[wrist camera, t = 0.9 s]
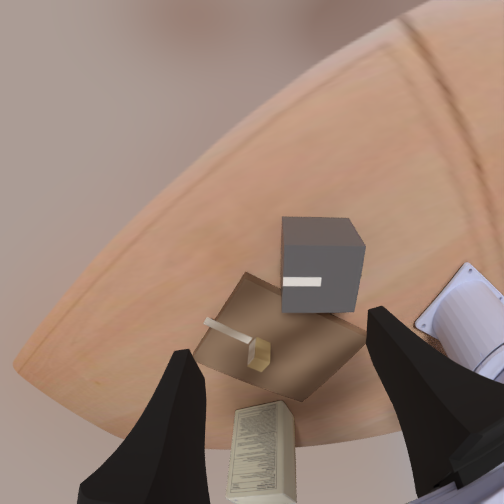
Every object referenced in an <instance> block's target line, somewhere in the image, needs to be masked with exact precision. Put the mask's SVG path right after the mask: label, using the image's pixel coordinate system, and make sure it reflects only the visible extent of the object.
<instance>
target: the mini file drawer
mask: <svg viewBox="0 0 504 504" xmlns="http://www.w3.org/2000/svg"><path fill="white" fill-rule="evenodd" d="M365 248H366V246H365V244H364V242H363V241H362V239H361V237H360V236H359V234H358V232H357V231H356V229H355V227H354V226H353V224H352V223H351V221H350V219H349V218H324V217H282V242H281V307H282V313H341V312H354V310H355V305H356V300H357V295H358V289H359V284H360V278H361V273H362V267H363V261H364V255H365Z"/></svg>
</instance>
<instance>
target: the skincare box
mask: <svg viewBox="0 0 504 504" xmlns="http://www.w3.org/2000/svg"><path fill="white" fill-rule="evenodd" d="M295 460H296V459H295V430H294V416H293V415H292V413H291V412H290V410H289V409H288V407H287V406H286V404H285V403H284V402H283V401H282V400H281V401H276V402H272V403H267V404H263V405H258V406H253V407H248V408H244V409H239V410H236V411H235V418H234V427H233V437H232V445H231V454H230V463H229V471H228V481H227V489H226V497H225V498H226V499H228V500H229V501H231V502H233V503H235V504H295V503H297V501H296V498H297V495H296V461H295Z"/></svg>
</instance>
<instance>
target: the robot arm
mask: <svg viewBox="0 0 504 504" xmlns="http://www.w3.org/2000/svg"><path fill="white" fill-rule="evenodd" d="M469 269H470V271H469ZM423 324H424V325H423ZM422 325H423V326H422ZM415 326H416V328H418V329H420V330H421V331H423V332H425V333H427V334H429V335H431V336H432V337H434V338H436V339H438V340H439V341H440V342H441V344H442V346H443V348H444V350H445V352H446V354H447V356H448V357H446V356H445V355H443V354H442V353H440V352H439V351H437V350H436V349H435V348H433V347H432V346H430V345H429V344H428V343H426V342H425V341H424V340H422V339H421V338H420V337H419V336H417V335H416V334H415V333H414V332H412V331H411V330H410V329H409V328H408V327H406V326H405V325H404V324H403V323H402V322H401V321H399V320H398V319H397V318H396V317H395V316H394V315H392V314H391V313H390V312H389V311H388V310H387V309H386V308H384V307H383V306H379V307H376V308H372V309H369V310H368V320H367V335H366V345H367V348H368V351H369V354H370V357H371V360H372V362H373V365H374V367H375V369H376V371H377V373H378V375H379V377H380V379H381V382H382V384H383V386H384V388H385V390H386V392H387V394H388V396H389V398H390V400H391V402H392V404H393V406H394V409H395V411H396V414H397V417H398V420H399V423H400V426H401V429H402V432H403V435H404V439H405V442H406V446H407V450H408V454H409V458H410V462H411V467H412V471H413V477H414V483H415V489H416V494H417V496H418V499H416V500H413V501H411V502H409V503H406V504H504V296H503V295H502V294H501V293H500V292H499V291H498V290H497V289H496V288H495V287H494V286H493V285H492V284H491V283H490V282H489V281H488V280H487V279H486V278H485V277H484V276H483V275H482V274H481V273H480V272H478V271H477V270H476V269H475V268H474V267H473V266H472V265H471V264H470V263H468V262H466V263H464V264H463V266H462V267H461V268H460V270H459V271H458V272H457V273H456V275H455V276H454V277H453V278H452V280H451V281H450V282H449V283H448V285H447V286H446V287H445V288H444V289H443V291H442V292H441V293H440V294H439V295H438V297H437V298H436V299H435V300H434V301H433V302H432V304H431V305H430V306H429V307H428V308H427V309H426V310H425V311H424V313H423V314H422V315H421V316H420V317H419V318H418V319H417V320H416V322H415ZM205 422H206V388H205V378H204V376H203V374H202V373H201V371H200V369H199V367H198V365H197V363H196V361H195V359H194V358H193V356H192V354H191V352H190V350H189V349H184V350H178V351H174V353H173V355H172V357H171V359H170V361H169V363H168V366H167V368H166V370H165V372H164V374H163V376H162V378H161V380H160V382H159V384H158V386H157V388H156V390H155V392H154V394H153V396H152V398H151V400H150V401H149V403H148V405H147V407H146V408H145V410H144V412H143V414H142V415H141V417H140V418H139V420H138V422H137V423H136V425H135V426H134V427H133V429H132V430H131V432H130V433H129V434H128V436H127V437H126V438H125V440H124V441H123V442H122V444H121V445H120V446H119V447H118V448H117V450H116V451H115V452H114V453H113V454H112V455H111V456H110V457H109V458H108V459H107V460H106V462H104V463H103V465H101V467H100V468H98V469H97V470H96V471H95V472H94V473H93V474H91V475H90V476H89V477H88V478H87V479H86V480H84V481H83V482H82V483H81V484H80V487H79V493H78V500H77V504H210V498H209V492H208V485H207V476H206V467H205V453H204V452H205V447H204V446H205Z"/></svg>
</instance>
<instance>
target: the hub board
mask: <svg viewBox="0 0 504 504" xmlns="http://www.w3.org/2000/svg"><path fill="white" fill-rule="evenodd" d="M203 324H205V325H207V326H209V327H210V328H209V329H208V331H207V332H206V334H205V336H204V337H203V339H202V340H201V342H200V343H199V345H198V346H197V348H196V350H195V351H194V353H193V358H194V359H195V361H196V362H198V363H200V364H202V365H205V366H207V367H209V368H212V369H214V370H216V371H219V372H221V373H224V374H226V375H229V376H231V377H234V378H236V379H239V380H241V381H244V382H246V383H249V384H252V385H254V386H257V387H260V388H263V389H265V390H268V391H271V392H274V393H277V394H279V395H282V396H285V397H288V398H291V399H294V400H297V401H300V402H303V401H304V400H305V399H306V398H308V397H309V396H310V395H311V394H312V393H313V392H314V391H316V390H317V389H318V388H319V387H320V386H321V385H322V384H324V383H325V382H326V381H327V380H328V379H329V378H330V377H331V376H332V375H334V374H335V373H336V372H337V371H338V370H339V369H340V368H341V367H342V366H343V365H344V364H345V363H346V362H347V361H348V360H349V359H350V358H352V357H353V356H354V355H355V354H356V353H357V352H358V351H359V350H360V349H361V348H362V347H363V346H364V345H365V344H366V335H367V331H365V330H363V329H361V328H359V327H356V326H354V325H352V324H350V323H348V322H346V321H344V320H342V319H340V318H338V317H336V316H334V315H332V314H330V313H282V307H281V289H279V288H277V287H275V286H273V285H271V284H269V283H267V282H265V281H263V280H261V279H259V278H257V277H255V276H253V275H251V274H249V273H247V272H245V273H244V275H243V277H242V278H241V280H240V281H239V283H238V284H237V286H236V287H235V289H234V291H233V292H232V294H231V295H230V297H229V298H228V300H227V301H226V303H225V305H224V306H223V308H222V309H221V311H220V312H219V314H218V315H217V317H216V319H215V320H212V319H210V318H208V317H207V318H206V319H205V321H204V323H203Z"/></svg>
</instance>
